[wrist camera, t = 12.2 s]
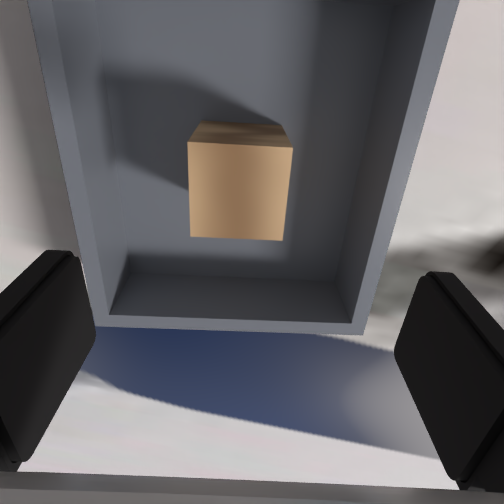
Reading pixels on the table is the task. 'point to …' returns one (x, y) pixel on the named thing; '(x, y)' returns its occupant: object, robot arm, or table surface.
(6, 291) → the robot arm
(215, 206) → the oak block
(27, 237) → the table surface
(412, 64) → the bin
